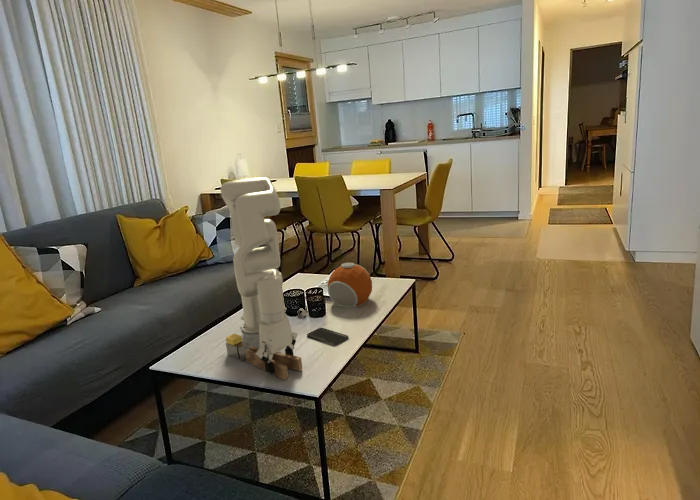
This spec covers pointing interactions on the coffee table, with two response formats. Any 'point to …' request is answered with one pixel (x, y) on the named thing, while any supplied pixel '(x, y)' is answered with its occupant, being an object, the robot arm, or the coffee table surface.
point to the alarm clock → (349, 285)
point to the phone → (327, 336)
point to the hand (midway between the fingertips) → (280, 366)
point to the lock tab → (233, 339)
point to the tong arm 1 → (251, 357)
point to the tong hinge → (238, 350)
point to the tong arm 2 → (285, 359)
